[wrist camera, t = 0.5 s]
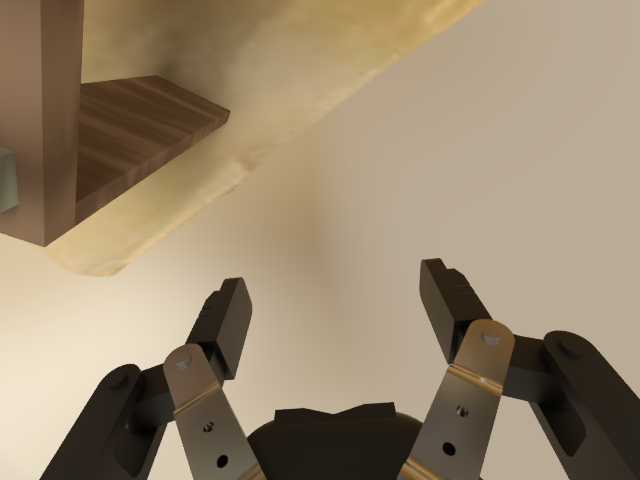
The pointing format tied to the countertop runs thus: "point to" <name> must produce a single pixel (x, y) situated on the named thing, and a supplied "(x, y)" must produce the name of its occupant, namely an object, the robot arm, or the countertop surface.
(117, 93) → the countertop shelf
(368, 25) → the countertop surface
